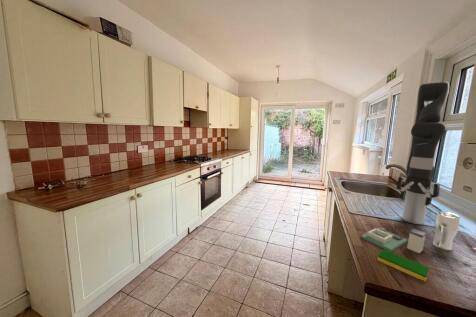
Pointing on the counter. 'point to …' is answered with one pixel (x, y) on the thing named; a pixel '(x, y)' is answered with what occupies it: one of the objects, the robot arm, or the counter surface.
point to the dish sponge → (404, 264)
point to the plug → (416, 240)
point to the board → (384, 239)
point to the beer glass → (445, 230)
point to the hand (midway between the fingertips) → (414, 202)
